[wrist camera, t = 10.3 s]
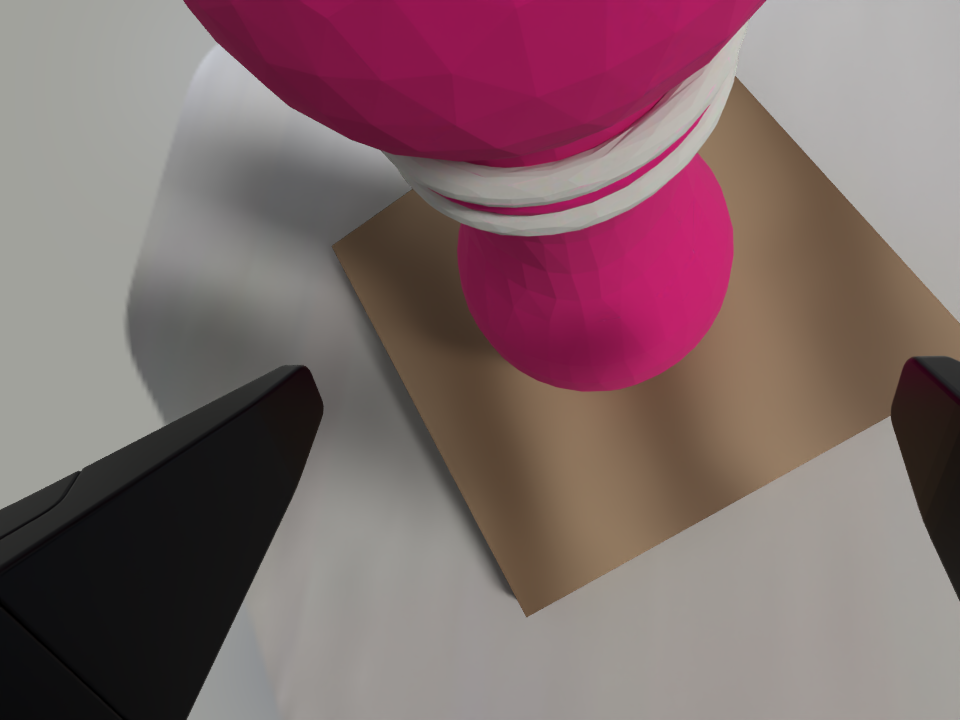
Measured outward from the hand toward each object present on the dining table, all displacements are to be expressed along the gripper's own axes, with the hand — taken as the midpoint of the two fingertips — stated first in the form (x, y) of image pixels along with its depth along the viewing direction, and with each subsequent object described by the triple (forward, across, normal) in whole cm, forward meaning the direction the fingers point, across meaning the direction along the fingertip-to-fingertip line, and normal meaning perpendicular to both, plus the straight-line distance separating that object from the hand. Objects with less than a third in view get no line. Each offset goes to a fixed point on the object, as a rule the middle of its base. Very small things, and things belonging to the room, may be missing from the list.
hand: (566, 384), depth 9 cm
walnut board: (+12, 0, +5) cm, 13 cm away
